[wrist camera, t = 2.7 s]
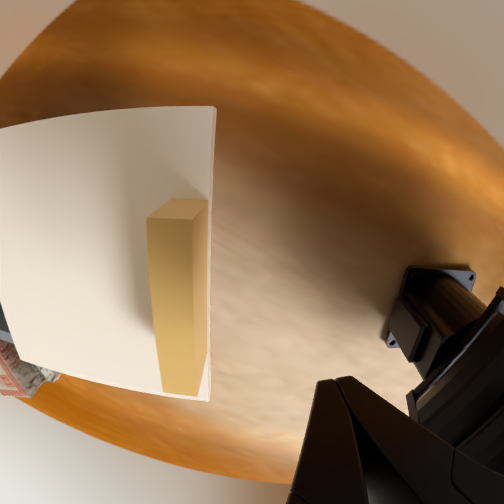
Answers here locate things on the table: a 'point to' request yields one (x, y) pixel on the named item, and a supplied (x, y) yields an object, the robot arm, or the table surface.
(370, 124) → the table surface
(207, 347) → the lid
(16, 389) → the packaged product
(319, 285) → the table surface
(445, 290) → the robot arm
